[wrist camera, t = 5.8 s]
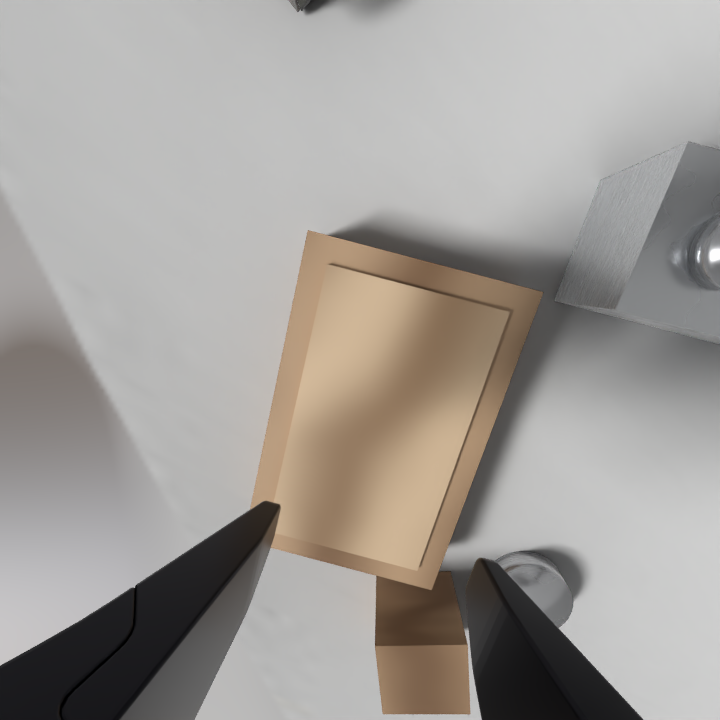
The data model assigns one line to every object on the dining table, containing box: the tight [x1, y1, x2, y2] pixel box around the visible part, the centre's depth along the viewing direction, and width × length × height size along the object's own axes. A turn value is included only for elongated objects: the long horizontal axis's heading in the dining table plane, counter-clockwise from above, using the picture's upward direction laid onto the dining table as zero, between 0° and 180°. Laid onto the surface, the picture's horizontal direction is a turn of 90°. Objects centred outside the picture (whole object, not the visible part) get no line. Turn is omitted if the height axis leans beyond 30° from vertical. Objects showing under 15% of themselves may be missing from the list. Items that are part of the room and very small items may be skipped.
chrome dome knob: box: [495, 551, 573, 628], centre depth 18 cm, size 4×4×2 cm
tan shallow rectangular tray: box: [250, 230, 543, 590], centre depth 16 cm, size 9×14×3 cm, turn 166°
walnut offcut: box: [375, 571, 470, 714], centre depth 18 cm, size 4×4×4 cm
